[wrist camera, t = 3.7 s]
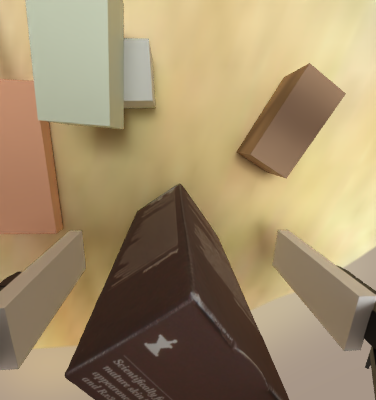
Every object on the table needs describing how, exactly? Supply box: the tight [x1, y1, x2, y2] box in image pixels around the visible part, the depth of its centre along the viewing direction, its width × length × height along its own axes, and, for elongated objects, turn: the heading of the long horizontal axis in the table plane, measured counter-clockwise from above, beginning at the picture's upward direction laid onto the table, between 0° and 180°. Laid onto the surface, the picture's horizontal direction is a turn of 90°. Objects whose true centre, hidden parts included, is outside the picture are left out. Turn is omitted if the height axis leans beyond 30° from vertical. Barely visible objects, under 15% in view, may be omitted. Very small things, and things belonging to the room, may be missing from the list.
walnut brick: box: [237, 63, 346, 178], centre depth 15 cm, size 6×3×3 cm, turn 149°
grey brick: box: [29, 38, 156, 108], centre depth 13 cm, size 6×3×3 cm, turn 91°
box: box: [65, 184, 289, 400], centre depth 11 cm, size 6×4×12 cm
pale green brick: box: [26, 0, 124, 129], centre depth 10 cm, size 6×3×3 cm, turn 175°
